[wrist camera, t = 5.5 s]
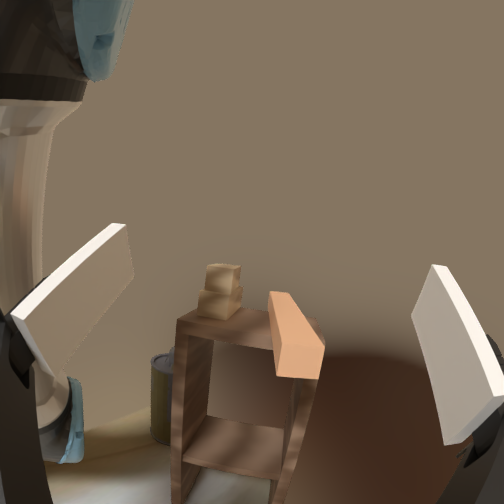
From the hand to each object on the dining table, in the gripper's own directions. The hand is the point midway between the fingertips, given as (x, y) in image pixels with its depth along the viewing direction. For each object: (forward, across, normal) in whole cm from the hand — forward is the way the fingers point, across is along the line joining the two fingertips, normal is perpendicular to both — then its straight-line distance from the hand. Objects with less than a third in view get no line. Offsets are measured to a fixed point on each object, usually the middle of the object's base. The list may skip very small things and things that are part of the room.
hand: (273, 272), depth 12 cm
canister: (+14, -18, -54) cm, 59 cm away
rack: (+2, -2, -47) cm, 47 cm away
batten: (+15, +1, -18) cm, 23 cm away
